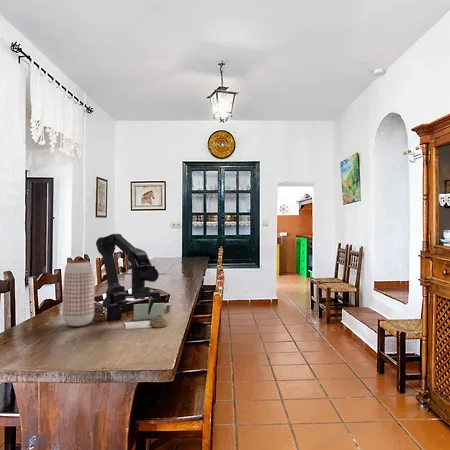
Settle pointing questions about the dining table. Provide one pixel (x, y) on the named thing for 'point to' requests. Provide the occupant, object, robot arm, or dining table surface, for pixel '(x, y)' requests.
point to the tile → (137, 325)
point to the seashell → (159, 321)
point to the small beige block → (167, 307)
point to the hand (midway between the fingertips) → (138, 315)
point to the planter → (78, 293)
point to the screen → (142, 311)
